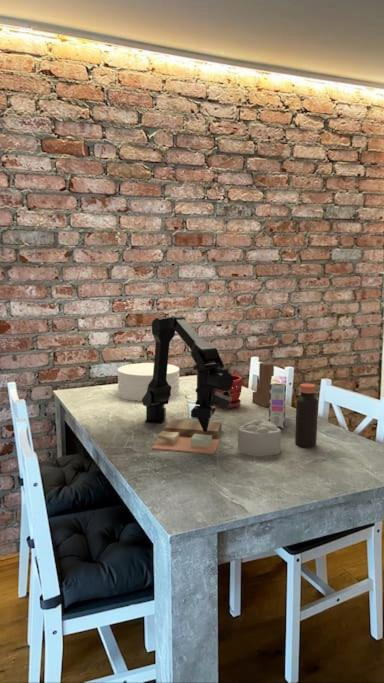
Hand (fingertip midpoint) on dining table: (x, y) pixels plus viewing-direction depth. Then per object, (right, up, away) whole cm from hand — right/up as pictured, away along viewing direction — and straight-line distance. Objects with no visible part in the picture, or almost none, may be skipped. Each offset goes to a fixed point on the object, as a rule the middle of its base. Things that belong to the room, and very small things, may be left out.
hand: (205, 431), depth 165 cm
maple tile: (-12, -1, 0) cm, 12 cm away
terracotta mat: (-6, -4, -1) cm, 7 cm away
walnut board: (-4, -3, +11) cm, 11 cm away
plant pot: (+10, +3, +46) cm, 47 cm away
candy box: (+28, -1, +24) cm, 36 cm away
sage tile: (-1, -1, -2) cm, 3 cm away
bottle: (+33, -5, 0) cm, 33 cm away
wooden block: (+26, +3, +48) cm, 55 cm away
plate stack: (-24, +5, +66) cm, 70 cm away
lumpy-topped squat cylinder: (+17, -5, -5) cm, 18 cm away
